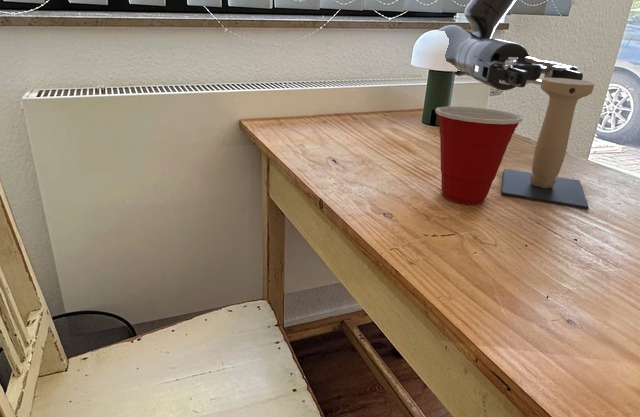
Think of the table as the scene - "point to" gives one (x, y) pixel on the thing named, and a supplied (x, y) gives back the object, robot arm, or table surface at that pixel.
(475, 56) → the robot arm
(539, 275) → the table surface
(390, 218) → the table surface
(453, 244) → the table surface
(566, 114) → the handle
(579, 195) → the mat
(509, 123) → the plastic cup
